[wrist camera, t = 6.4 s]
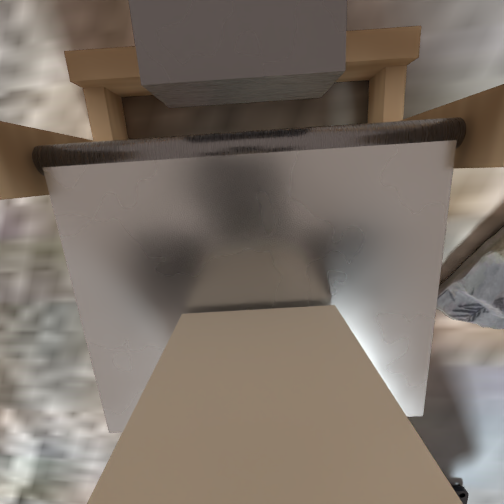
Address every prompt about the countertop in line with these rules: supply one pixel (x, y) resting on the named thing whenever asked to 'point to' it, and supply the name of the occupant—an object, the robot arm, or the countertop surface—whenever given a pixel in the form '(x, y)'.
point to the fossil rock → (477, 287)
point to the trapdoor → (252, 201)
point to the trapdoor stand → (357, 69)
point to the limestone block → (269, 420)
